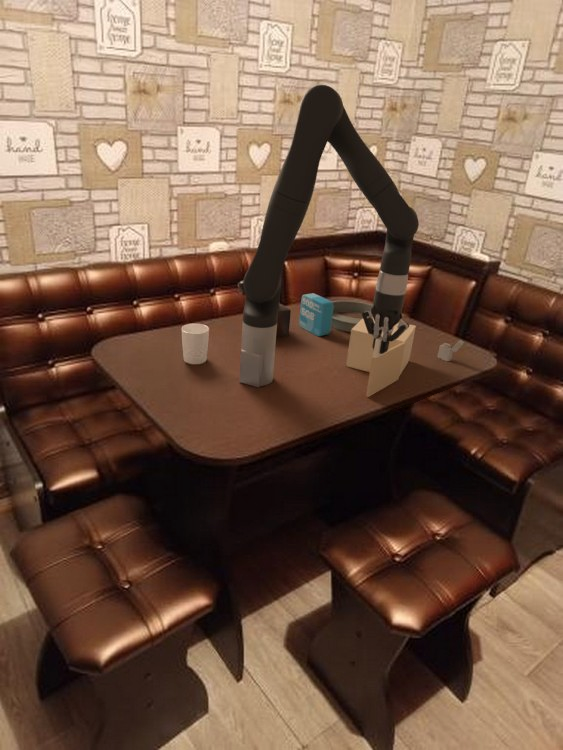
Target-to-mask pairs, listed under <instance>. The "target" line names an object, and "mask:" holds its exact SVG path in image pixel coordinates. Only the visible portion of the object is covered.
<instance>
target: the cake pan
mask: <svg viewBox="0 0 563 750" xmlns="http://www.w3.org/2000/svg"><path fill="white" fill-rule="evenodd" d="M331 302H332V303H333V314H332V322H331V328H334V329H337V330H339V331H344V332H347V333H348V332H349V333H351V329H352V328H353V327H354V326H355V325H356V324H357V323H358V322H359V321H360V320H361V319H362V318H356V317H352V316H347V315H343V314H339V313H354V314H359V315H362V313H363V312H366V311H370V310H371V308H372V307H373V305H374V304H372V303H368V302H362V301H357V300H334V301H333V300H332V301H331Z"/></svg>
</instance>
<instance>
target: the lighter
mask: <svg viewBox="0 0 563 750" xmlns="http://www.w3.org/2000/svg"><path fill="white" fill-rule="evenodd" d="M464 344H465V342H464V341H463V340H461V339H460V340H458V341H457V342H456V343H455V345H453V347H451V346H452V345H451V344H450V343H447V342H445V343H443V344H440V345H439V348H438V352H437V358H438V359H440V358H441V359H440V360H443V361H444V362H447V361H449V362H451V361H452V357H453V353H457V352H458V351H459V350H460V348H461V347H462V346H463V345H464ZM450 360H451V361H450Z"/></svg>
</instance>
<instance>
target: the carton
mask: <svg viewBox="0 0 563 750" xmlns="http://www.w3.org/2000/svg"><path fill="white" fill-rule="evenodd" d="M360 319H361V320H360V321H359V322H358V323H357V324H356V325H355V326H354V327H353V328H352V329H351V332H350V337H349V343H348V351H347V356H346V363H345V364H346V365H345V367H348V368H353V369H356V370H360V371H365V372H367V373H370V369H371V363H372V357H373V352H374V349H373V347H372V346H373V340H374V337H373V335H372V334H369V333H368V331H367V328H366V325H365V322H364V319H363V317H362V318H360ZM373 321H374V318H373ZM374 324H375V321H374ZM408 324H409V323H408ZM397 326H398V323H397V324H396V325H395V326H394V329H393V331H392V335H393V334H394V333H395V332H396V331H397V330H398V328H397ZM416 328H417V326H416V325H414V324H409V328H407V329H406V330H405V331H404V332H403V333H402V334H401V335H400V336H399V337H398V338H397V339H396V340H394V341H392V342H391V341H390V342H389V347H388V349H390V348H392V347H394V346H396V345H398V344H400V343H402V342H404V343H405V348H404V353H403V358H402V363H401V368H400V373H399V377H400V376H401V375H402V373H403V371H404V369H406V366H407V364H408V363H409V362H408V361H410V358H411V352H412V347H413V342H414V338H415V332H416ZM381 336H383V331H382V335H381Z"/></svg>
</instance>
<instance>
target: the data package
mask: <svg viewBox="0 0 563 750" xmlns="http://www.w3.org/2000/svg"><path fill="white" fill-rule="evenodd" d="M299 309H300V311H299V318H298V319H299V320H298V321H299V322H298V323H299V327H300V328H302V329H304V330H306V331H307V332H309V333H310V334H313V335H315V336H316V337H322V336H325V335H330V333H331V329H332V326H331V322H332V314H333V303H332V301H331V300H329V299H326V298H325V297H323V296H320V295H318V294H316V293H313V292H312V293H306V294H303V295H302V296H301V301H300V308H299Z"/></svg>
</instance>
